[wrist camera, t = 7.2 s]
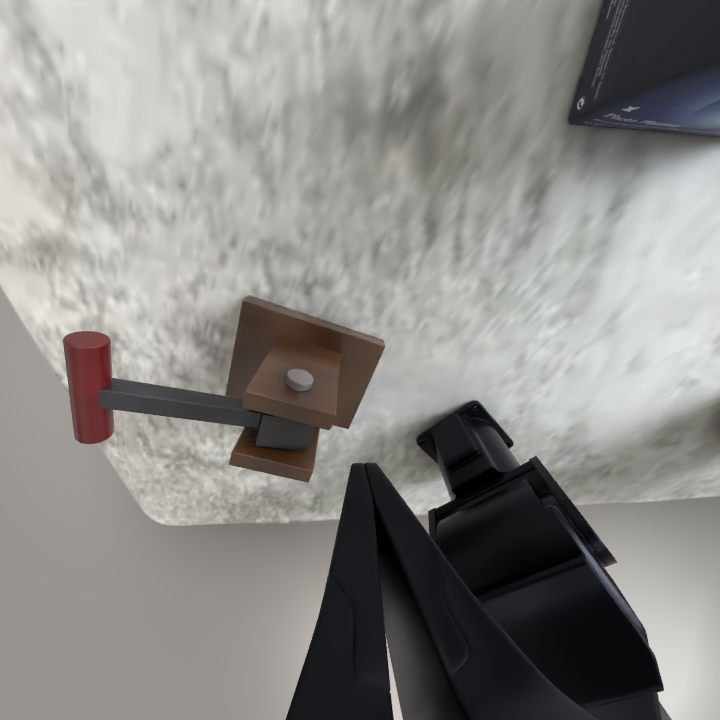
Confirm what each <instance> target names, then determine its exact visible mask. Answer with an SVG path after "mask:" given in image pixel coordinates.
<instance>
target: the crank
mask: <svg viewBox="0 0 720 720" xmlns="http://www.w3.org/2000/svg"><path fill="white" fill-rule="evenodd" d="M63 343H64V352H65V360H66V369H67V377H68V385H69V394H70V402H71V410H72V418H73V427H74V435H75V439H76V440H77V441H79V442H80V443H84V444H94V443H99V442H102V441H104V440H106V439H108V438H109V437H111V435H112V434H113V432H114V417H113V409H114V410H121V411H129V412H137V413H144V414H152V415H160V416H167V417H175V418H183V419H190V420H198V421H205V422H213V423H221V424H228V425H236V426H244V427H251V428H258V432H257V438H256V443H255V445H256V446H264V447H273V448H282V449H291V450H300V451H307V449H308V446H309V443H310V441H311V438H312V435H313V433H314V430H315V426H311V425H307V424H303V423H300V422H296V421H292V420H288V419H284V418H281V417H277V416H273V415H269V414H265V413H262V412H258V411H254V410H250V409H246V408H243V407H242V402H243V399H240V398H234V397H228V396H221V395H215V394H209V393H203V392H197V391H190V390H184V389H178V388H172V387H166V386H159V385H153V384H147V383H141V382H135V381H128V380H122V379H116V378H112V362H111V340H110V338H109V337H108V336H107V335H105V334H102V333H99V332H92V331H81V332H74V333H71V334H68V335H66V336H65V337H64V339H63Z"/></svg>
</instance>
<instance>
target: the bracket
mask: <svg viewBox="0 0 720 720" xmlns="http://www.w3.org/2000/svg"><path fill="white" fill-rule="evenodd" d="M384 348H385V345H384V341H383V340H381V339H378V338H375V337H372V336H369V335H366V334H363V333H360V332H357V331H354V330H351V329H348V328H345V327H342V326H339V325H336V324H333V323H330V322H327V321H324V320H321V319H318V318H315V317H312V316H309V315H306V314H303V313H300V312H297V311H294V310H291V309H288V308H285V307H282V306H279V305H276V304H273V303H270V302H267V301H264V300H261V299H258V298H255V297H252V296H247V297H246V298H245V299H244V300H243V302H242V307H241V313H240V318H239V324H238V329H237V335H236V341H235V346H234V352H233V357H232V363H231V368H230V374H229V379H228V385H227V390H226V396H228V397H234V398H240V399H243V402H242V407H243V408H246V409H250V410H254V411H258V412H262V413H265V414H269V415H273V416H277V417H281V418H284V419H288V420H292V421H296V422H300V423H303V424H307V425H311V426H315V430H314V433H313V435H312V438H311V441H310V443H309V446H308V449H307V451H300V450H291V449H282V448H273V447H264V446H256V445H255V443H256V438H257V432H258V428H251V427H244V429H243V431H242V433H241V435H240V437H239V439H238V441H237V443H236V445H235V447H234V449H233V451H232V453H231V458H230V462H229V464H230V465H233V466H237V467H242V468H246V469H251V470H255V471H260V472H264V473H268V474H273V475H277V476H282V477H286V478H291V479H295V480H300V481H304V482H309V480H310V478H311V475H312V473H313V469H314V463H315V456H316V450H317V444H318V437H319V431H320V428H323V429H326V430H330V429H331V426H332V425H335V426H339V427H342V428H346V429H349V427H350V424H351V422H352V420H353V418H354V415H355V413H356V411H357V409H358V406H359V404H360V402H361V400H362V398H363V395H364V393H365V391H366V389H367V386H368V384H369V382H370V380H371V377H372V375H373V373H374V371H375V368H376V366H377V364H378V362H379V359H380V357H381V355H382V353H383V350H384Z"/></svg>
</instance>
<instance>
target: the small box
mask: <svg viewBox="0 0 720 720" xmlns="http://www.w3.org/2000/svg"><path fill="white" fill-rule="evenodd" d="M604 3H605V4H604V7H603V10H602V14H601V17H600V20H599V23H598V27H597V29H596V33H595V36H594V39H593V42H592V46H591V49H590V51H589V54H588V58H587V61H586V64H585V68H584V71H583V74H582V75H581V77H580V79H579V84H578V87H577V92H576V95H575V99H574V102H573V107H572V110H571V113H570V117H569V123H572V124H579V125H591V126H603V127H615V128H625V129H637V130H648V131H660V132H669V133H682V134H692V135H704V136H713V137H720V0H605V2H604Z"/></svg>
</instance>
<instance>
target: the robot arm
mask: <svg viewBox="0 0 720 720" xmlns="http://www.w3.org/2000/svg"><path fill="white" fill-rule="evenodd" d="M475 406H477V407H476V408H474V407H475ZM422 440H424V441H422ZM420 441H422V442H420ZM416 442H417V445H418V446H419V447H420V448H421V449H422V450H424V451H425V452H426V453H427V454H428V455H429V456H430V457H431V458H432V459H433V460H434V461H435V462H437V463H438V464H439V467H440V469H441V472H442V475H443V478H444V481H445V484H446V487H447V489H448V492H449V495H450V498H451V501H450V502H448V503H446V504H445V505H443V506H441V507H439V508H437V509H436V508H434V509H432V510H430V511H428V515H429V534H428V533H427V532H426V530H425V529H424V527H423V526H422V525H421V523H420V522H419V520H418V519H417V518H416V516H415V515H414V514H413V512H412V511H411V510H410V508H409V507H408V505H407V504H406V503H405V501H404V500H403V499H402V497H401V496H400V494H399V493H398V492H397V490H396V489H395V488H394V486H393V485H392V484H391V482H390V481H389V479H388V478H387V477H386V475H385V474H384V473H383V471H382V470H381V468H380V467H379V466H378V464H377V463H365V464H363V463H353V464H352V465H351V469H350V474H349V479H348V484H347V488H346V493H345V498H344V502H343V507H342V512H341V517H340V521H339V526H338V531H337V536H336V541H335V545H334V550H333V555H332V560H331V564H330V569H329V575H328V578H327V583H326V588H325V592H324V597H323V600H322V604H321V608H320V613H319V617H318V620H317V623H316V627H315V630H314V633H313V637H312V640H311V643H310V646H309V650H308V653H307V656H306V659H305V662H304V665H303V668H302V671H301V674H300V677H299V680H298V683H297V687H296V689H295V693H294V696H293V699H292V702H291V705H290V708H289V711H288V714H287V717H286V720H394V719H393V711H392V702H391V694H390V680H389V669H388V659H387V647H386V638H387V642H388V648H389V653H390V658H391V662H392V667H393V672H394V677H395V682H396V687H397V692H398V697H399V702H400V707H401V712H402V717H403V720H671V718H670V717H669V715H668V714H667V712H666V711H665V709H664V708H663V707H662V705H661V704H660V702H659V700H658V694H657V692H660V691H663V690H664V688H663V683H662V679H661V676H660V672H659V668H658V664H657V661H656V658H655V655H654V653H653V652H652V650H651V649H650V647H649V644H648V639H647V634H646V631H645V629H644V627H643V625H642V624H641V622H640V620H639V619H638V618H637V616H636V614H635V613H634V611H633V610H632V608H631V607H630V605H629V604H628V602H627V601H626V599H625V597H624V596H623V594H622V593H621V591H620V590H619V588H618V587H617V585H616V584H615V583H614V581H613V579H612V578H611V577H610V575H609V574H608V573H607V571H606V570H605V568H604V567H606V566H609V565H612V564H614V563H617V561H616V560H615V558H614V557H613V556H612V554H611V553H610V552H609V550H608V549H607V548H606V546H605V545H604V544H603V542H602V541H601V540H600V538H599V537H598V536H597V534H596V533H595V532H594V530H593V529H592V528H591V527H590V525H589V524H588V523H587V521H586V520H585V519H584V517H583V516H582V515H581V513H580V512H579V511H578V510H577V508H576V507H575V506H574V504H573V503H572V502H571V500H570V499H569V498H568V497H567V495H566V494H565V493H564V491H563V490H562V489H561V488H560V486H559V485H558V484H557V482H556V481H555V480H554V478H553V477H552V476H551V475H550V473H549V472H548V471H547V469H546V468H545V467H544V466H543V464H542V463H541V462H540V460H539V459H538V458H537V457H536V456H535V457H533V458H531V459H529V461H528V462H527V463H525V464H523V465H521V466H520V465H519V463H518V462H517V460H516V459H515V458H514V456H513V455H512V453H511V452H510V450H509V448H511V447H512V446H513V441H512V440H511V439H510V437H509V436H508V435H507V434H506V433H505V431H504V430H503V429H502V428H501V427H500V426H499V424H498V423H497V422H496V421H495V420H494V419H493V417H492V416H491V415H490V414H489V413H488V412H487V410H486V409H485V408H484V407H483V406H482V405H481V403H480V402H478V401H472V402H470V403H469V404H467V405H466V406H464V407H463V408H461V409H460V410H458V411H457V412H455V413H454V414H452V415H450V416H449V417H447V418H446V419H444V420H443V421H441V422H440V423H438V424H437V425H435V426H433V427H432V428H430V429H429V430H427V431H426V432H424V433H423V434H421V435H420V436H418V437H417V439H416ZM429 535H430V536H429ZM385 633H386V636H385Z"/></svg>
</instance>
